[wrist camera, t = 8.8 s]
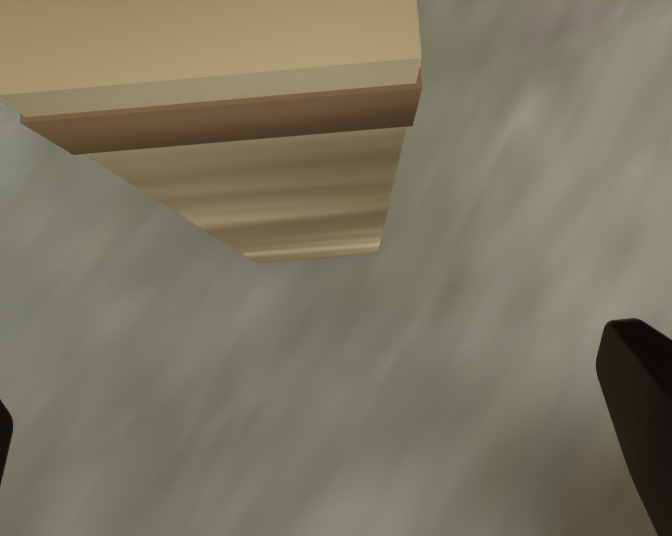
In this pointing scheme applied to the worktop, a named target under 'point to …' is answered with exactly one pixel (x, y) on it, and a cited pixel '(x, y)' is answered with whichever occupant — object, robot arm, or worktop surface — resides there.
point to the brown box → (229, 108)
